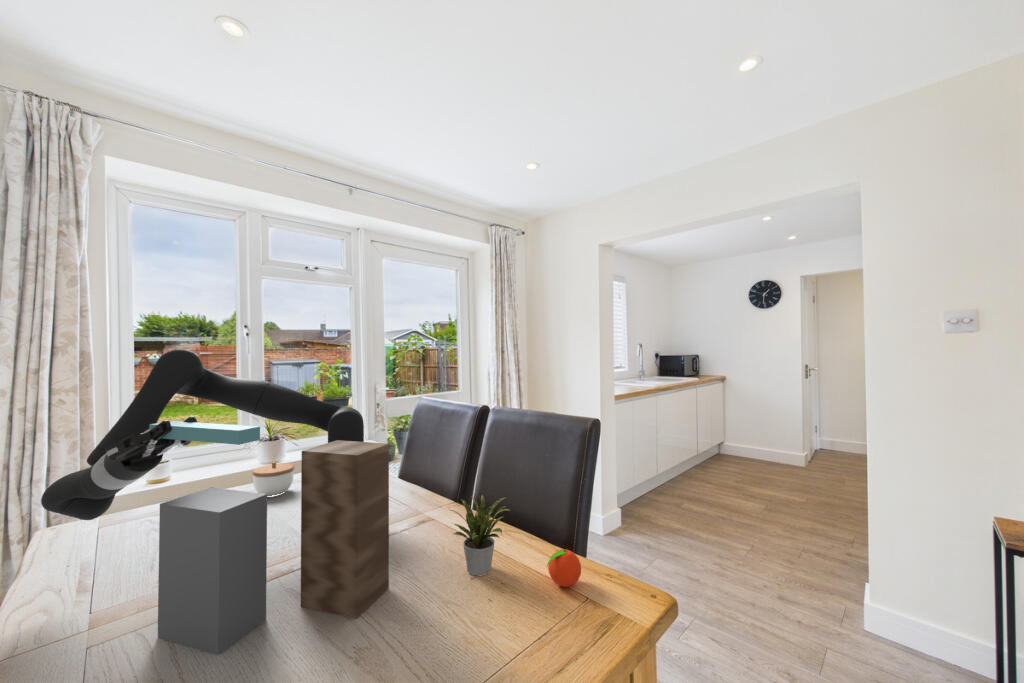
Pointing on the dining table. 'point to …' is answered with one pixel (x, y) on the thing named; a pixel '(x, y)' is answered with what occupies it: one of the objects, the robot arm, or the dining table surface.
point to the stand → (344, 526)
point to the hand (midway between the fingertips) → (181, 422)
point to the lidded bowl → (273, 478)
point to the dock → (212, 568)
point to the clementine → (564, 568)
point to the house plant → (479, 537)
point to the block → (212, 432)
